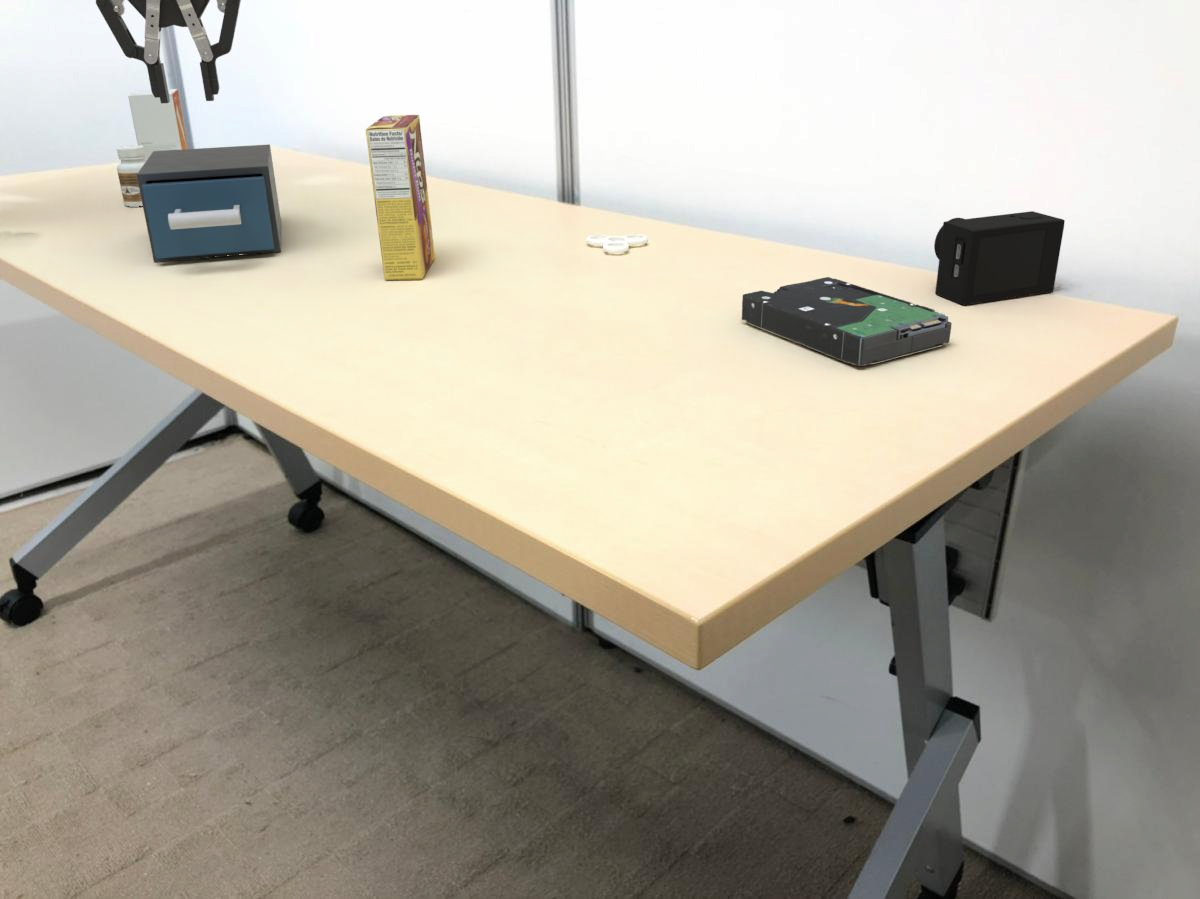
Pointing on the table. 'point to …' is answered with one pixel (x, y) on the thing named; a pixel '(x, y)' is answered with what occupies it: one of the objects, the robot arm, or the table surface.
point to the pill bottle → (130, 173)
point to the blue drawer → (208, 215)
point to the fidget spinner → (616, 242)
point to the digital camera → (997, 257)
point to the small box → (157, 122)
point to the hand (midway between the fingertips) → (187, 100)
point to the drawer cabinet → (214, 165)
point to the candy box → (401, 196)
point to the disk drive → (846, 320)
